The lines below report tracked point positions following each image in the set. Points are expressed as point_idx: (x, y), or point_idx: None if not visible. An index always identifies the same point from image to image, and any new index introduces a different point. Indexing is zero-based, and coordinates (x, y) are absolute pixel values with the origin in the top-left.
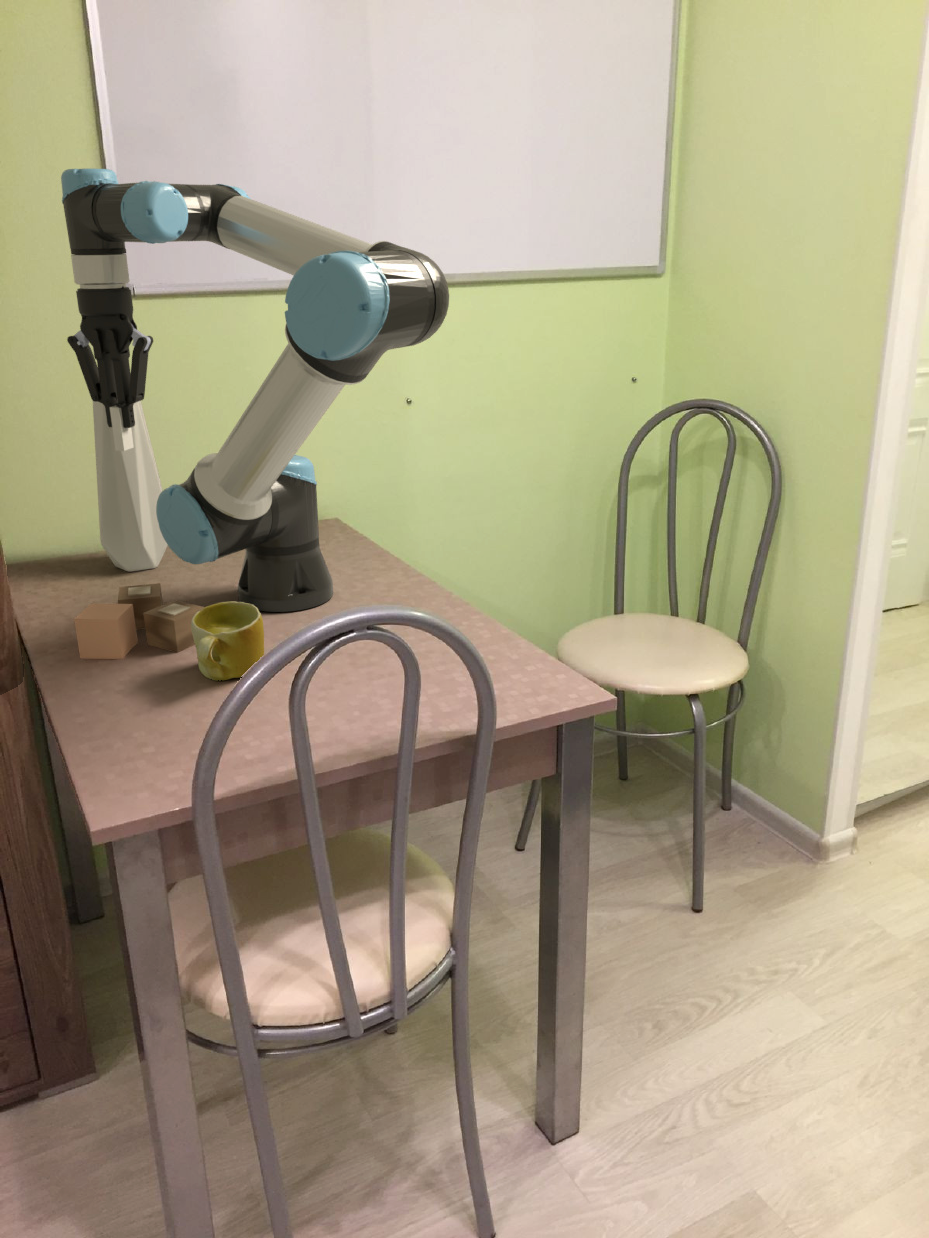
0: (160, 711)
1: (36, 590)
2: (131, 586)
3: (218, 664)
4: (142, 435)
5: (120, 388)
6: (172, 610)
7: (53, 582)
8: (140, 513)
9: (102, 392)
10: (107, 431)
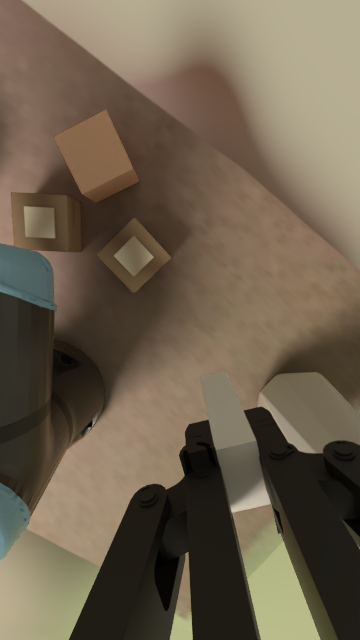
0: None
1: (337, 276)
2: (158, 266)
3: None
4: None
5: (205, 527)
6: (35, 216)
7: (339, 306)
8: (276, 420)
9: (311, 484)
10: None
